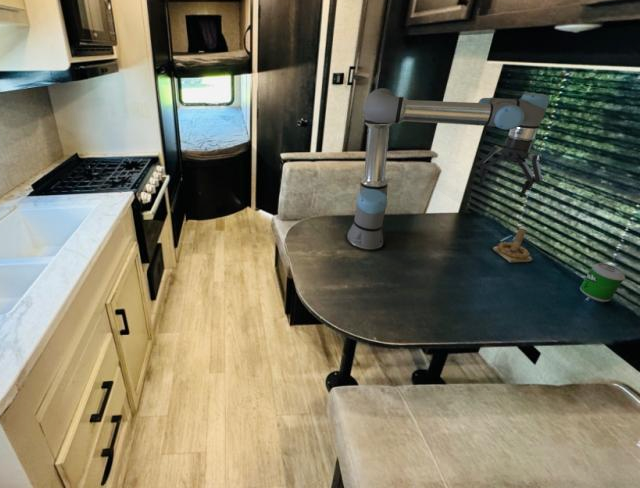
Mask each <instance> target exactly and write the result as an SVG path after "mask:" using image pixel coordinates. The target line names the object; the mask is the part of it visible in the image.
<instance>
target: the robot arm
mask: <svg viewBox="0 0 640 488" xmlns="http://www.w3.org/2000/svg"><path fill="white" fill-rule="evenodd" d="M550 99H551V98H550V96H549V95H547V94H543V93H533V92H532V93H528V92H527V93H523V94H522V96H521V97H520V98H500V97H497V98H496V97H482V98H480V99H479V101H478V102H466V101H465V102H464V101H442V100H441V101H439V100H417V99H415V100H414V99H406V97H405V96H396V94H395V92H394V91H392V90H391V89H388V88H383V87H382V88H376V89H374V90H372V91H371V92H370V93H369V94H368V95H367V96H366V98H365V101H364V103H363V107H362V108H363V109H362V110H363V113H364V121H363V123H364V124H365V125H366V126H367V130H366V131H367V132H366V145H365V162H364V174H363V177H362V178H361V179H360V183H359V194H358V196H357V198H356V206H355V212H354V219H353V223H352V225H351V227H350V228H349V230H348V231H347V235H346V239H347V242H348V243H349V244H350V245H351V246H353V247H355V248H357V249H359V250H363V251H377V250H380V249H382V247H383V245H384V236H383V229H382V227H383V222H384V219H385V213H386V209H387V206H388V185H389V184H388V183H389V181H388V180H387V179H386V169H387V158H388V157H387V156H388V148H389V138H390V137H389V136H390V127H391V126H392V125H393V124H401V123H402V122H416V123H417V122H418V123H429V124H430V123H431V124H449V125H464V126H482V127H483V126H484V127H496V128H498V129H500V130H505V131H507V130H509V131H508V136H507V137H506V138H505V142H504V144H503V147H500V146H499V145H494V146H492V148H491V149H490V151H489V152H488V153H487V154H486V155H485V156H483V158H481V159H480V160H479V161H478V162H477V163H476V164H475V166H476V167H479V168H480V170H479V173H478V177H480V179H479V182H478V183H477V184H478V186H481V185H484V183H485V180H486V177H487V174H488V171H489V167H491V166H493V165H495V164H496V163H498V162H501V161H502V160H504V161H505V162H510V163H512V164H518V165H519V166H520V168H521V170H522V172H523V174H524V175H525V178H527V179H526V180H525V182H524V184H523V187H522V188H521V192H520V193H519V195H518V196H519V198H523V197H525V195H526V192H527V191H530V190H531V189H532V187H533V185H534V183H540V182H541V181H543V175H542V170H541V166H540V161H539V160H540V156H541V155H540V154H539V153H536V154H533V153H530V150H531V148H532V146H533V143H534V139H535V138H536V136H537V133H538V130H539V128H540V126H541V123H542V121H543V118H544V116H545V114H546V111H547V110H548V106H549V104H550ZM499 152H500V154H501V156H499V157H496V158H495V159H493V160H491V161H490V162H487V161H488V160H490V158H492V157H493V156H494V155H495V154H496V153H499ZM528 158H529V160H530V161H531V166H532V171H533V172H532V171H531V168H530V167H529V165H528V162H527V160H526V159H528ZM486 162H487V163H486Z"/></svg>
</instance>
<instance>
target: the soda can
mask: <svg viewBox="0 0 640 488" xmlns="http://www.w3.org/2000/svg"><path fill="white" fill-rule="evenodd" d="M625 279H626V275H625V274H624V272H623V270H622V269H620V268H618V267H616V266H614V265H612V264H608V263H605V262H600V263H595V264H593V265H592V266H591V268H590V270H589V271H588V273H587V275H586V277H585V278H584V280H583V281H582V283H581V285H580V287H579V290H580V292H581V293H582V295H584V296H586V297H587V298H588V299H591V301H595V302H599V303H605V302H609V301H611V300H612V298H613V297H614V295H615V294H616V292H617V291H618V289H619V287H620V286H621V285H622V283H623V282H624V280H625Z"/></svg>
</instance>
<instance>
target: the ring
mask: <svg viewBox="0 0 640 488" xmlns="http://www.w3.org/2000/svg"><path fill="white" fill-rule="evenodd" d="M512 243H513V242H509V241H501V242H499V243H498V244H497V245H496V246H497V247H498V250H499V251H500V252H502V253H503V254H505V255H507V256H509V257H512V258H516V259H527V258H528V257H531V254H530V252H529V250H528V249H527V248H526V247H524V246H522V245H520V246H519V249H518V250H519V251H521V252H522V253H523V254H516V253H512V252H510V251H508V250H506V249H505V248H504V247H511V245H512Z"/></svg>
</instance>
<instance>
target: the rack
mask: <svg viewBox="0 0 640 488" xmlns="http://www.w3.org/2000/svg"><path fill="white" fill-rule="evenodd" d="M527 231H528V228H527V227H525V226H519V227H518V230H517V232H516V233H515V237H514V238H513V241H512V242H511V243H512V245H511V247H504V248H505V249H506V250H508V251H510V252H512V253H516V254H523V253H522V252H521V251H519V250H518V249H519V246H521V244H522V241H523V240H524V238H525V235H526V233H527ZM492 250H493V251H494V252H495V253H497V254H498V255H499V256H501V257H502V258H504V260H506V261H508V262H509V263H528V262H532V260H533V258H532V257H531V256H529V257H528V258H527V259H516V258H512V257H509V256H507V255H505V254H503V253H502V252H500V251H499V250H498V247H497V245H496V246H493V247H492Z"/></svg>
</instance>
